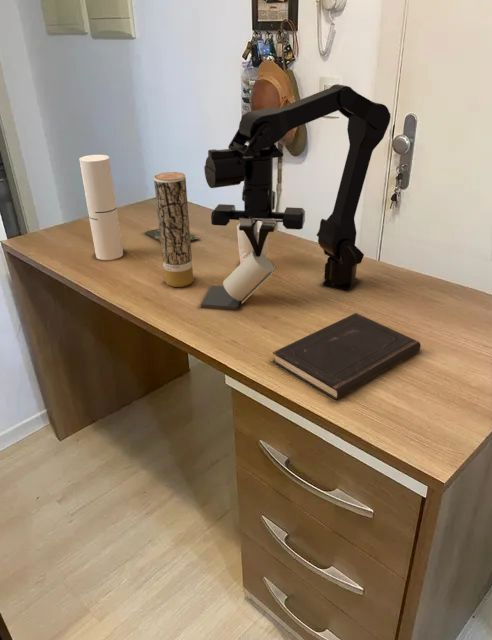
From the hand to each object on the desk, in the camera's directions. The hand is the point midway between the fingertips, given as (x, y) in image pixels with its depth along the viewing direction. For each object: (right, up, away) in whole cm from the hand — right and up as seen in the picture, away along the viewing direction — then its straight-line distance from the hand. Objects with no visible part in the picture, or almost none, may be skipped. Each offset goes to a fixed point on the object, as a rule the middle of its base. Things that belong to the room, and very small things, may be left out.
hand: (258, 256), depth 118 cm
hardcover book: (+16, -22, -14) cm, 31 cm away
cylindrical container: (-40, +6, +30) cm, 50 cm away
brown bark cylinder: (-19, -4, +15) cm, 24 cm away
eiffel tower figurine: (-25, +13, +42) cm, 50 cm away
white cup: (-1, +2, +24) cm, 24 cm away
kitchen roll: (-2, -4, +3) cm, 5 cm away
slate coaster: (-8, -8, +7) cm, 13 cm away
